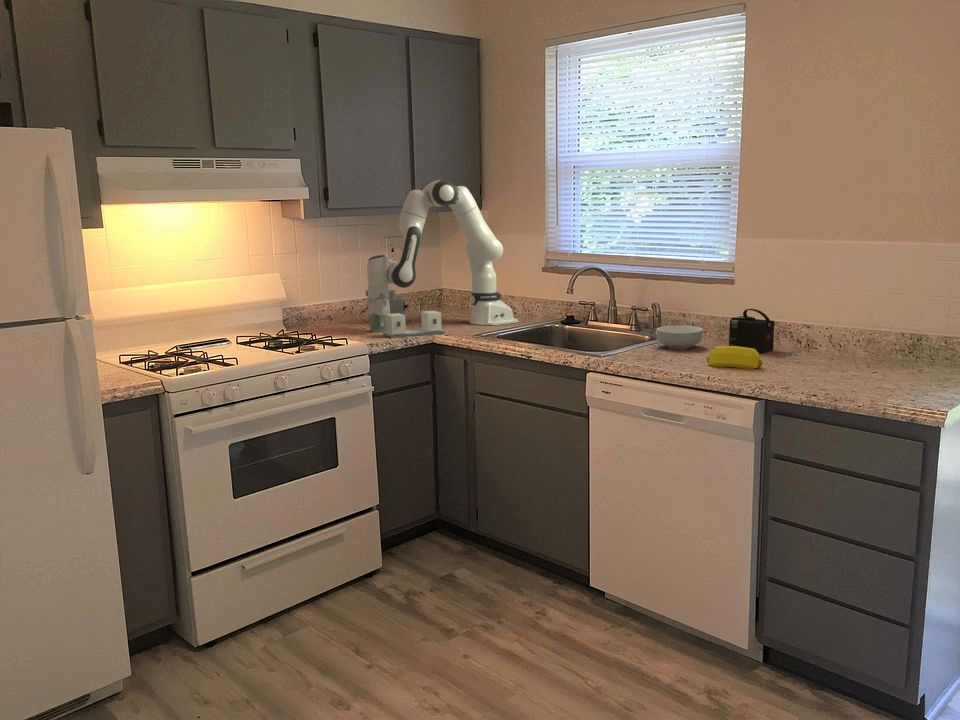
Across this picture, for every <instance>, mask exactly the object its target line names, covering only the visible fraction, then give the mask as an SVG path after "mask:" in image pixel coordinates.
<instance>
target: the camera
mask: <svg viewBox="0 0 960 720" xmlns="http://www.w3.org/2000/svg"><path fill="white" fill-rule="evenodd" d="M748 311H753V312H755V313H758V314H759V315H760V316H762V317H763V318H764V319H761V318H760V319H759V318H755V317H753V316H748V314H747V313H748ZM775 326H776V321H775V320H770V318H769V317H768V315H767V314H766V313H764V312H763V311H761V310H759V309H755V308H747V309H745V310H743V312H742V315H739V316H735V317H731V320H729V329H728V330H729V333H728V346H738V347H746V348H753V349H755V350H756V351H757V352H758V353H759V354H764V353H768V352H772V351H774V346H775V345H774V341H775V340H774V339H775Z"/></svg>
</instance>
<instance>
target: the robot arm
mask: <svg viewBox="0 0 960 720" xmlns="http://www.w3.org/2000/svg"><path fill="white" fill-rule="evenodd" d="M444 206H449V207H450V208H451V211H452V214H453V215H454V217H455V220H456V221H457V224H458V227H459V228H460V230H461V232H462V234H464V235H465V236H466V238H467V239H468V241H466V243H465V247H464V249H465V254H466V255H467V258H468V262H469V266H470V271H471V282H472V283H471V284H472V285H471V289H472V292H471V296H470V298H471V314H470V319H469V324H472V325H478V326H479V325H480V326H481V325H482V326H483V325H484V326H485V325H487V326H498V325H507V324H513V323H514V324H516V323H518V322H519V319H517V318H516V317H514V312H513V309H512V308H511V306H508V304H506V303H505V302H504V301H503V300H501V298H504V296H505V293H503V292H498V291H497V287H498V286H497V273H496V271H495V269H494V265H493V262H496V261H499V259H501V257H502V256H503V254H504V246H503V244H502V243H501V242H500V241H499V239H498V238H496V236H495V234H494V233H493V232H492V230H491V229H490V227H489V225H488V224H487V223H486V221H485V219H484V216H483V214H482V212H481V210H480V208H479V206H478V204H477V201H476V200H475V198H474V196H473V195H472V193H471V192H470V190H469V189H468V188H467V187H466V186H464V185H459V186H456V185H454V184H453V183H452V182H450V181H448V180H446V179H445V180H442V179H441V180H440V179H438V180H434V181H429V182H427V183H426V184H424V186H423V187H422V188H421V189H412V190H411V191H409V193H408V195H407V196H406V198H405V200H404V203H403V206H402V208H401V212H400V214H399V220H398V229H399V230H400V232H401V234H402V237H403V246H402V251H401V255H400V260H399V261H395V260H394V259H392V258H391V259H390V258H389V257H387V256H386V255H385V254H378V255H374V256H371V257H370V258H369V259H368V261H367V265H366V267H367V268H366V271H367V273H366V274H367V275H366V277H367V281H368V283H367V290H366V291H365V296H366V297H367V298H366V301H367V309H368V312H369V314H376V315H378V316H379V318H380V322H379V325H380V326H384V321H385V314H390V308H389V301H388V299H387V297H389V293H388V290H389V284H393V285H395V286H396V287H399V288H402V289H403V288H408V287H410V286H412V285H413V284H414V282H415V280H416V278H417V277H416V276H417V274H416V260H417V256H418V251H419V248H420V244H421V243H420V241H421V237H422V234H423V230H424V226H425V223H426V220H427V217H428V212H429V211H430V209H431V208H432V207H444Z"/></svg>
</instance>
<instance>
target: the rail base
mask: <svg viewBox="0 0 960 720" xmlns="http://www.w3.org/2000/svg"><path fill="white" fill-rule="evenodd" d="M420 313H421V314H420V315H421V317H420V320H421V328H420V329H419V328H418V329H406V327H407V326H406V315H405V314H404V315H403V314H400V313H395V314H385V318H386V332H382V335H383V336H384V335H385V336H384V337H387V338H389V337H390V338H389V339H395V338H394V337H400V338H405V337H404V336H412V337H421V336H432V335H445V334H446V333H445V332H446V331H444V329H442V328H443V327H442V312H441V311H436V310H428V311H427V310H424V311H421V312H420ZM444 333H445V334H444Z"/></svg>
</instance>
